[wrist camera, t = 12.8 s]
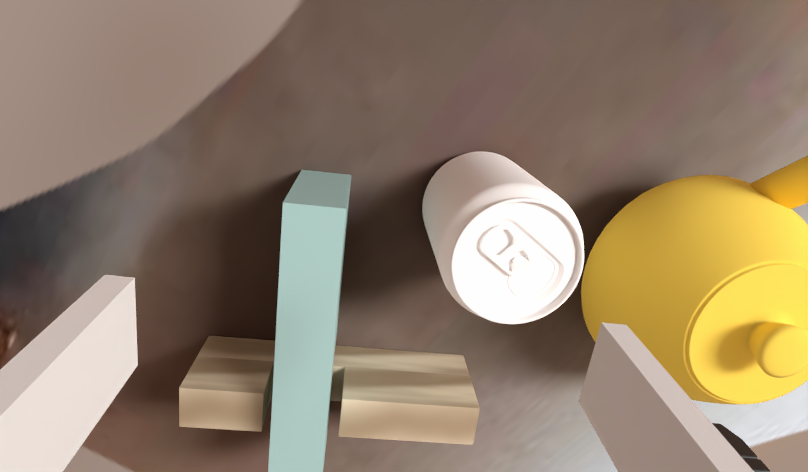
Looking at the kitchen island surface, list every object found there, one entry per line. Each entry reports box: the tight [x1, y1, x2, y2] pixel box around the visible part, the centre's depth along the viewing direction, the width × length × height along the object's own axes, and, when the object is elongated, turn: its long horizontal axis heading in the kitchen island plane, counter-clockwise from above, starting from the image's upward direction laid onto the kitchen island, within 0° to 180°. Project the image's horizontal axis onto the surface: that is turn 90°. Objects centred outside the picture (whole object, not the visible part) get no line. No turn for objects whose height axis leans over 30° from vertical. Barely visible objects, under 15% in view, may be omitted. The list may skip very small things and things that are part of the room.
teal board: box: [268, 170, 351, 472], centre depth 38 cm, size 20×4×9 cm, turn 173°
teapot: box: [581, 156, 808, 404], centre depth 36 cm, size 20×16×14 cm
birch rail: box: [179, 336, 480, 445], centre depth 40 cm, size 3×20×7 cm, turn 83°
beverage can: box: [422, 152, 584, 324], centre depth 35 cm, size 8×8×12 cm
